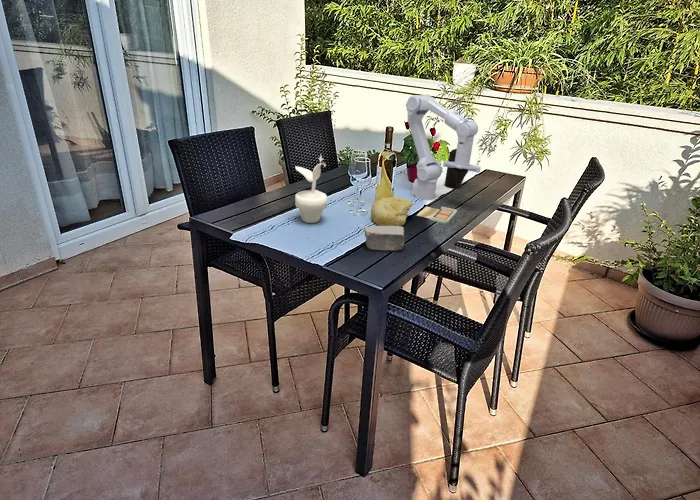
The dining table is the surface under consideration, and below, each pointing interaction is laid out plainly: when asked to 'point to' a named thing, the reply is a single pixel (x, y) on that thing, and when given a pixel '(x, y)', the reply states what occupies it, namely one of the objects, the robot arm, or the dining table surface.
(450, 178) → the aerosol can
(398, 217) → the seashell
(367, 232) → the decorative stone
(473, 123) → the robot arm
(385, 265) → the dining table surface
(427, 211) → the board
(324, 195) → the potted plant
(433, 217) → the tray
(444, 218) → the tile
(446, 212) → the tile
